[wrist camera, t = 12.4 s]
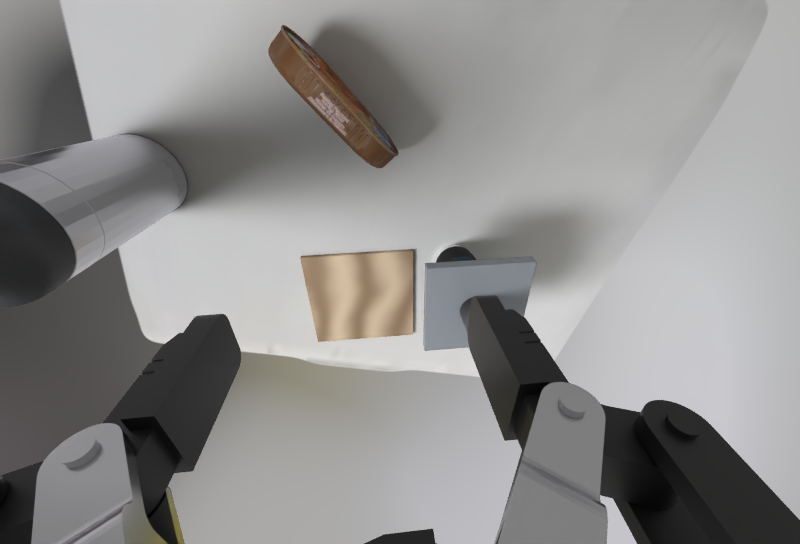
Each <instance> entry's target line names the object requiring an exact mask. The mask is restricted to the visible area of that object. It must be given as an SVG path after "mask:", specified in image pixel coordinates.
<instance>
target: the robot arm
mask: <svg viewBox="0 0 800 544" xmlns="http://www.w3.org/2000/svg"><path fill="white" fill-rule="evenodd" d="M186 193H187V181H186V177H185V174H184V172H183V170H182V168H181V166H180V165H179V163H178V162H177V160H176V159H175V158H174V157H173V156H172V155H171V154H170V153H169V152H168V151H167V150H166V149H165V148H163V147H162V146H161V145H159V144H157V143H156V142H154V141H152V140H150V139H147V138H145V137H142V136H138V135H131V134H125V135H117V136H112V137H108V138H103V139H98V140H93V141H88V142H84V143H79V144H75V145H70V146H65V147H60V148H55V149H51V150H46V151H41V152H37V153H32V154H27V155H23V156H18V157H13V158H9V159H4V160H0V307H13V306H20V305H24V304H27V303H30V302H33V301H35V300H38V299H40V298H41V297H43V296H45V295H47V294H48V293H50V292H52V291H53V290H54V289H56V288H57V287H59V286H61V285H62V284H63V283H65V282H66V281H68V280H69V279H71V278H72V277H74V276H75V275H77V274H78V273H80V272H81V271H83V270H84V269H86V268H87V267H89V266H90V265H92V264H93V263H95V262H96V261H98V260H99V259H101V258H102V257H104V256H105V255H107V254H108V253H110V252H111V251H113V250H114V249H116V248H117V247H119V246H120V245H122V244H123V243H125V242H126V241H128V240H129V239H131V238H133V237H134V236H136V235H137V234H139V233H140V232H142V231H143V230H145V229H146V228H148V227H149V226H151V225H152V224H154V223H155V222H157V221H158V220H160V219H161V218H163V217H164V216H166V215H167V214H169V213H170V212H172V211H173V210H175V209H177V208H178V207H179V206H180V205H181V204H182V203H183V201H184V199H185V198H186ZM540 341H541V340H540V339H539V338H538V336H537V335H536V333H534V330H533V329H532V327H531V326H530V324H529V323H528V321H527V320H526V319H525V318H524V317H523V316H521V315H520V314H519V313H518V312H516V311H515V310H513V309H509V310H505V308H504V307H503V305H502V303H501V302H500V300H499V298H498V297H497V296H496V295H492V296H478V297H473V298H472V300H471V307H470V316H469V324H468V344H469V348H470V351H471V354H472V356H473V359H474V362H475V364H476V367H477V369H478V372H479V375H480V377H481V380H482V382H483V385H484V388H485V390H486V393H487V395H488V398H489V401H490V403H491V406H492V409H493V411H494V414H495V416H496V419H497V421H498V424H499V427H500V429H501V432H502V435H503V437H504V440H516V439H518V441H519V444H520V446H521V448H522V452H521V456H520V459H519V462H518V466H517V469H516V473H515V476H514V480H513V483H512V487H511V490H510V493H509V497H508V500H507V504H506V507H505V510H504V514H503V517H502V521H501V524H500V527H499V530H498V533H497V537H496V540H495V544H606V543H607V523H608V520H607V510H606V507H605V505H604V504H602V503H601V502H600V495H602V496H606V497H610V498H613V499H614V501H615V503H616V505H617V507H618V509H619V510H620V512H621V514H622V516H623V518H624V520H625V521H626V523H627V525H628V527H629V529H630V531H631V533H632V535H633V537H634V538H635V540H636V542H637V544H800V520H799V519H798V518H797V517H796V516H795V515H794V514H793V513H792V511H790V509H789V508H788V507H787V506H786V505H785V504H784V503H783V502H782V501H781V500H780V499H779V498H778V497H777V495H776V494H775V493H774V492H773V491H772V490H771V489H770V488H769V487H768V486H767V485H766V484H765V483H764V482H763V480H762V479H761V478H760V477H759V476H758V475H757V474H756V473H755V472H754V471H753V470H752V469H751V468H750V467H749V465H748V464H747V463H746V462H745V461H744V460H743V459H742V458H741V457H740V456H739V455H738V454H737V453H736V452H735V450H734V449H733V448H732V447H731V446H730V445H729V444H728V443H727V442H726V441H725V440H724V439H723V438H722V437H721V436H720V434H719V433H718V432H717V431H716V430H715V429H714V428H713V427H712V426H711V425H710V424H709V423H708V422H707V421H706V420H705V419H703V418H702V417H701V416H699V415H698V414H697V413H695V412H693V411H691V410H690V409H688V408H686V407H684V406H682V405H679V404H677V403H673V402H670V401H664V400H654V401H651V402H648V403H647V404H646V405H645V406H644V408H643V409H642V411H641V412H636V411H630V410H625V409H620V408H615V407H609V406H605V405H602V404H600V403H599V402H598V401H597V399H596V398H595V397H594V396H592V395H591V394H590V393H589V392H587V391H586V390H584V389H582V388H580V387H579V386H576V385H574V384H571V383H569V382H568V381H567V379H566V378H565V376H564V375H563V373H562V372H561V370H560V369H559V367H558V366H557V364H556V363H555V361H554V360H553V358H552V357H551V355H550V354H549V352H548V351H547V349H546V348H545V346H544V345H543V343H541V342H540ZM240 362H241V351H240V348H239V345H238V343H237V340H236V338H235V335H234V333H233V330H232V328H231V325H230V322H229V320H228V318H227V316H226V315H224V314H216V315H202V316H196V317H195V318H194V319H193V320H192V322H191V323H190V324H189V326H188V327H187V328H186V330H185V331H184V333H179V334H177V335H176V336H175V337H174V338H172V339H171V340H170V341H168V342H167V343H166V344H164V345H163V346H162V347H161V349H160V350H159V351H158V353H157V354H156V355H155V356H154V358H153V359H152V362H151V363H149V364H148V365H147V367H146V368H145V369H144V370H143V372H142V375H140V376H139V377H138V378H137V380H136V381H135V382H134V383H133V385H132V386H131V387H130V389H129V390H128V391H127V392H126V394H125V395H124V396H123V398H122V399H121V400H120V402H119V403H118V404H117V406H116V407H115V408H114V409H113V411H112V412H111V413H110V414H109V416H108V417H107V418H106V420H105V421H104V422H103V423H102V424H98V425H94V426H91V427H89V428H86V429H84V430H82V431H80V432H78V433H76V434H74V435H73V436H71V437H70V438H68V439H67V440H65V441H64V442H63V443H61V444H60V445H59V446H58V447H57V448H55V450H53V451H52V452H51V453H50V454H49V456H48V457H47V458H46V459H45V460H44V461H42V462H39V463H36V464H33V465H31V466H28V467H25V468H22V469H19V470H16V471H13V472H10V473H7V474H4V475H2V476H1V475H0V544H185V543H184V539H183V535H182V532H181V527H180V523H179V519H178V515H177V511H176V508H175V504H174V500H173V496H172V492H171V489H170V488H169V487H168V484H169V482H170V480H171V478H172V476H173V474H174V473H179V472H189V471H193V470H194V467H195V465H196V463H197V461H198V459H199V456H200V454H201V452H202V449H203V447H204V445H205V443H206V441H207V438H208V436H209V434H210V432H211V429H212V427H213V425H214V422H215V421H216V418H217V416H218V414H219V411H220V409H221V407H222V405H223V403H224V400H225V398H226V396H227V393H228V391H229V389H230V387H231V385H232V383H233V380H234V378H235V376H236V374H237V371H238V369H239V366H240ZM365 544H436V543H435V539H434V532H433V529H427V530H419V531H410V532H402V533H394V534H385V535H382V536H380V537H378V538H376V539H373V540H371V541H369V542H367V543H365Z"/></svg>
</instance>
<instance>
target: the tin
mask: <svg viewBox="0 0 800 544" xmlns="http://www.w3.org/2000/svg"><path fill="white" fill-rule="evenodd" d="M269 56H270V58H271V60H272V62H273V64H274V65H275V67H276V68H277V69H278V71H279V72H280V73H281V75H282V76H283V77H284V78H285V79H286V81H287V82H288V83H289V84H290V85H291V86H292V87H293V88H294V90H295V91H296V92H297V93H298V94H299V95H300V96H301V97H302V98H303V99H304V100H305V101H306V102H307V103H308V104H309V105H310V106H311V107H312V108H313V109H314V110H315V111H316V113H317V114H318V115H319V116H320V117H321V118H322V119H323V120H324V121H325V122H326V123H327V124H328V125H329V126H330V127H331V128H332V129H333V130H334V131H335V132H336V133H337V134H338V135H339V136H340V137H341V138H342V139H343V140H344V141H345V142H346V143H347V144H348V145H349V146H350V147H351V148H352V149H353V150H354V151H355V152H356V153H357V154H358V155H359V156H360V157H361V158H363V159H364V160H365V161H366V162H368V163H369V164H370V165H372V166H374V167H376V168H383V167H384V166H385V165H386V164H387V163H389V162H390V161H391V160H392V159H393V158H394V157H395V156H397V155H398V150H397V148H396V147H395V145H394V143H393V142H392V140H391V139H390V137H389V136H388V134H387V133H386V132H385V130H384V129H383V128H382V127H381V125H380V124H379V123H378V122H377V121H376V120H375V118H374V117H373V116H372V115H371V114H370V113H369V112H368V110H367V109H366V108H365V107H364V106H363V105H362V104H361V102H360V101H359V100H358V99H357V98H356V97H355V96H354V94H353V93H352V92H351V91H350V90H349V89H348V88H347V87H346V85H345V84H344V83H343V82H342V81H341V80H340V79H339V77H338V76H337V75H336V74H335V73H334V72H333V71H332V69H331V68H330V67H329V66H328V65H327V64H326V63H325V62H324V60H323V59H322V58H321V57H320V56H319V55H318V54H317V53H316V52H315V51H314V50H313V49H312V48H311V47H310V46H309V45H308V44H307V43H306V42H305V41H304V40H303V39H302V38H301V37H300V36H298V35H297V34H296V33H295V32H294V31H292V30H291V29H289V28H288V27H287V26H284V25H283V26H282V27H281V30H280V32H279V33H278V35H277V36H276V37H275V39H274V40H273V42H272V43H271V45H270V47H269Z"/></svg>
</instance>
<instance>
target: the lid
mask: <svg viewBox="0 0 800 544" xmlns="http://www.w3.org/2000/svg"><path fill="white" fill-rule="evenodd" d="M535 267H536V261H535V260H534V258H533V257H517V258H501V259H485V260H470V261H454V262H438V263H425V292H424V335H423V345H424V350H425V351H428V350H441V349H453V348H465V347H469V344H468V324H469V316H470V307H471V300H472V298H473V297H478V296H492V295H496V296H497V297H498V298H499V300H500V302H501V303H502V305H503V307H504V308H505V310H509V309H513V310H515V311H516V312H518V313H519V314H520V315H521V316H523V317H524V313H525V309H526V305H527V300H528V296H529V292H530V288H531V284H532V279H533V275H534V271H535Z"/></svg>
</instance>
